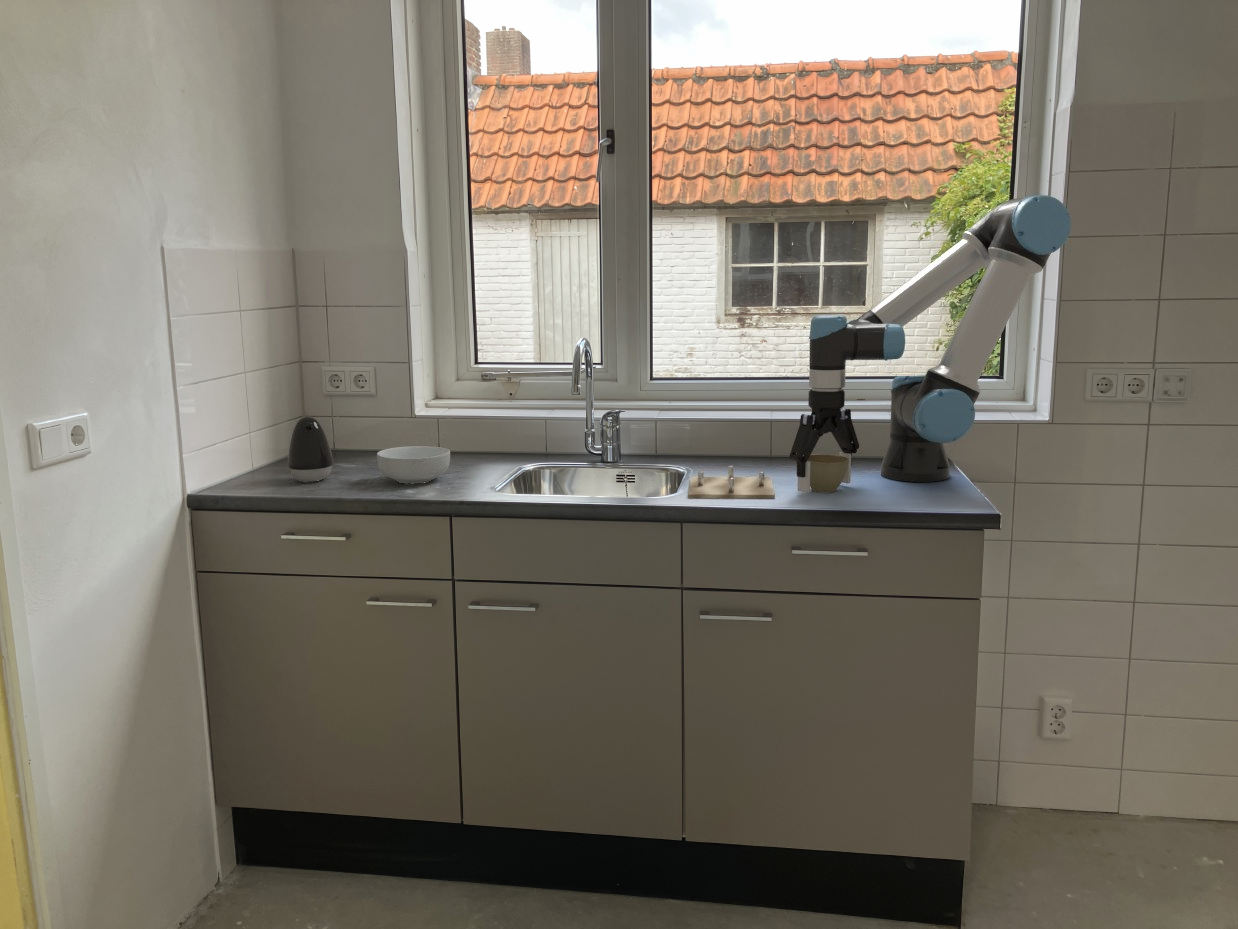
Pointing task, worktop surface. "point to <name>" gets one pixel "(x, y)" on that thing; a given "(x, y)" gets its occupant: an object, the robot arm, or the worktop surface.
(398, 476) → the cereal bowl
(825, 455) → the flower pot
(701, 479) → the wooden peg board
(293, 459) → the black egg-shaped dome
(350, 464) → the worktop surface
